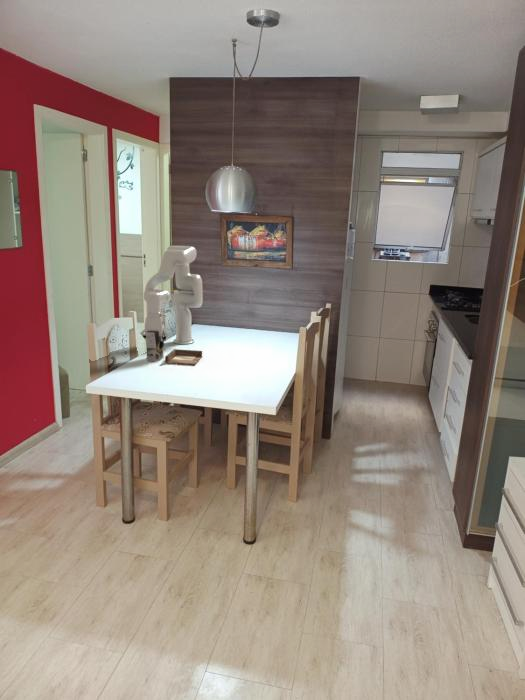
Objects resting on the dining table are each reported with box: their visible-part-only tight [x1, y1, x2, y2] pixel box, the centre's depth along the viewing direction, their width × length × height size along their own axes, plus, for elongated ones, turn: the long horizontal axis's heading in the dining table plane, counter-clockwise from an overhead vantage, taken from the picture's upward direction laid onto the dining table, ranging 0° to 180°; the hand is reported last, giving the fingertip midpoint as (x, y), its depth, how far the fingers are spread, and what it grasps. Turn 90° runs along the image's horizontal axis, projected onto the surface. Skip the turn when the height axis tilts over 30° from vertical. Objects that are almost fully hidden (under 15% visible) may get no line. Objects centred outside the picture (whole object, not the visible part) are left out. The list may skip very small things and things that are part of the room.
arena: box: [164, 348, 203, 367], centre depth 285 cm, size 16×16×4 cm
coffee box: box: [145, 331, 165, 363], centre depth 285 cm, size 9×6×16 cm
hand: (155, 347), depth 285 cm, fingers closed on coffee box, 6 cm apart
